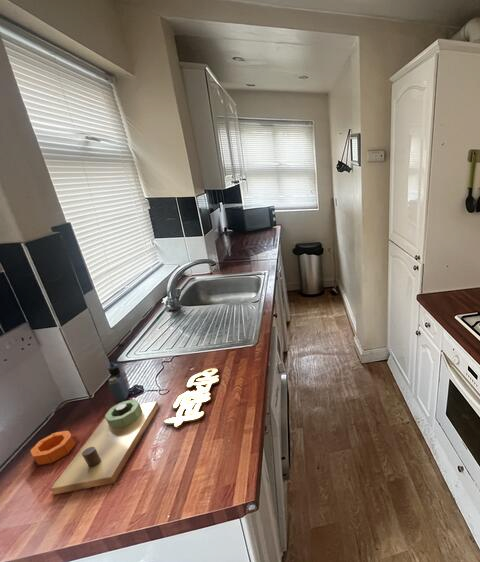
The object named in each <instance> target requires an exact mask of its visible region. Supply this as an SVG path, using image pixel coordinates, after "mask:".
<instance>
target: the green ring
mask: <svg viewBox="0 0 480 562" xmlns="http://www.w3.org/2000/svg"><path fill="white" fill-rule="evenodd" d="M121 404H126V405H127V407H128V409H129V412H127V413H125V414H123V415H121V416H118V413H117V411H116V407H117V406H119V405H121ZM140 404H141V403H139V402H138V401H137V399H130V400H125V401H123V402H119V403H117V404H115V405H114V406H112V407H111V408H109V409H108V411H107V412H106V414H105V415H104V418H106V420H107V422H108V424H109V426H110V427H111V428H112V429H115V428H121V427H126V426H127V425H129V424H131V423H132V422H134V421H136V420H137V419H138V418H139V416H140V415H141V413H142V409H141V407H140Z"/></svg>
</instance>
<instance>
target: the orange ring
mask: <svg viewBox="0 0 480 562" xmlns="http://www.w3.org/2000/svg"><path fill="white" fill-rule="evenodd" d="M76 445H77V442H76V441H75V438H74V437H73V436H72V434H71V433H70V431H69V430H63V431H57V432H53V433H51V434H49V435H48V436H45V437H44V438H42V439H40V440H39V441H38V442H37V443H36V444H35V445H34V446H33V447H32V448H31V449H30V451H29V452H30V454H31V456H32V458H33V459H34V461H35V462H36V464H37V465H38V466H40V465H42V466H43V465H46V464H52V463H54V462H56V461H58V460H60V459H62V458H63V457H65V456H66V455H69V453H70V452H71V451H72V450H73V448H75V446H76Z"/></svg>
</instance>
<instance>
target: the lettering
mask: <svg viewBox="0 0 480 562" xmlns="http://www.w3.org/2000/svg"><path fill="white" fill-rule="evenodd" d="M218 374H219V370H218V368H216V367H209V368H206V369H205V370H203V371H202V372H198V373H196V374H194V375H192V376H191V377H190V378H189V380H188V382H187V384H186V387H187V389H188V390H187V391H186V392H184V393H182V394H180V395H179V396H178V397H177V399H176V400H175V402H174V404H173V408H174V410H175V411H176V410H177V412H176V417H171V418H168V419H165V420H164V423H165V425H168V426H174V428H175V429H179V428H180V427H182V426H183V425H184V424H186V423H192V422H197V421H200V420H202V419H203V418H204V415H205V413H204V411H201V408H202V407H203V405H205V404H208V403H210V402H211V401H212V399H211V397H212V395H211V393H210V391H211V390H212V387H213V386H215V385H217V384H218V383H220V377H219V375H218ZM194 387H195V388H196V390H192V391H190V390H189V389H193V388H194Z"/></svg>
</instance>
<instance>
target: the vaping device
mask: <svg viewBox="0 0 480 562" xmlns="http://www.w3.org/2000/svg"><path fill="white" fill-rule="evenodd" d="M107 371H108V372H109V374H110V376H111V377H110V378H109V379H108V385H109V386H108V387H109V390H110V391H111V394H112V396H113V398H114V400H115V402H116V403H117V404H119V403H121V402H124V401H127V398H128V396H129V395H130V390H129V388H128V385H127V383H126V380H125V378H124V376H123V374H122V372H121V370H120V367H119V364H117V363H114V362H110V363H109V364H108V366H107Z"/></svg>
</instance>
